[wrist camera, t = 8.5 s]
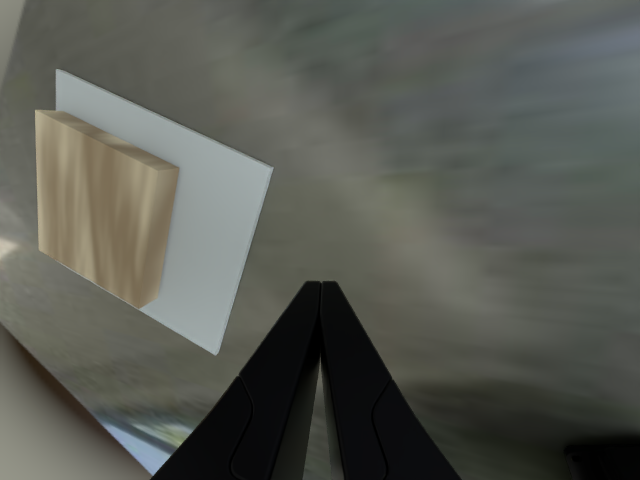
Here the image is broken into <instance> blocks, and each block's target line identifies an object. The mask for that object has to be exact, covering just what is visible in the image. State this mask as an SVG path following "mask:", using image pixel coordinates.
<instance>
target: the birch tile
mask: <svg viewBox="0 0 640 480" xmlns="http://www.w3.org/2000/svg"><path fill="white" fill-rule="evenodd" d="M35 127H36V164H37V200H38V236H39V251H41V252H43V253H45V254H46V255H48V256H50V257H51V258H53V259H55V260H56V261H58V262H60V263H61V264H63V265H65V266H67V267H68V268H70V269H72V270H73V271H75V272H77V273H78V274H80V275H82V276H83V277H85V278H87V279H89V280H90V281H92V282H94V283H95V284H97V285H99V286H100V287H102V288H104V289H105V290H107V291H109V292H111V293H112V294H114V295H116V296H117V297H119V298H121V299H122V300H124V301H126V302H127V303H129V304H131V305H132V306H134V307H136V308H138V309H140V308H142V307H143V306H145V305H147V304H148V303H150V302H152V301H153V300H155V299H157V298H158V292H159V286H160V281H161V275H162V269H163V263H164V257H165V251H166V245H167V239H168V233H169V227H170V221H171V215H172V209H173V203H174V198H175V192H176V186H177V180H178V174H179V167H177V166H175V165H173V164H171V163H169V162H167V161H165V160H163V159H161V158H159V157H156V156H154V155H152V154H150V153H148V152H146V151H144V150H142V149H140V148H138V147H136V146H134V145H132V144H130V143H128V142H126V141H124V140H122V139H120V138H118V137H116V136H113V135H111V134H109V133H107V132H105V131H103V130H101V129H99V128H97V127H95V126H93V125H91V124H89V123H87V122H85V121H83V120H81V119H79V118H77V117H75V116H73V115H70V114H68V113H66V112H64V111H51V110H35Z"/></svg>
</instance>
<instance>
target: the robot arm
mask: <svg viewBox="0 0 640 480" xmlns="http://www.w3.org/2000/svg"><path fill="white" fill-rule="evenodd" d="M320 353H321V372H322V383H323V393H324V403H325V413H326V423H327V434H328V444H329V454H330V464H331V474H332V480H462V479H461V478H460V477H459V475H458V474H457V473H456V471H455V470H454V468H453V467H452V466H451V464H450V463H449V462H448V460H447V459H446V458H445V456H444V455H443V454H442V452H441V451H440V450H439V448H438V447H437V445H436V444H435V443H434V441H433V440H432V439H431V437H430V436H429V434H428V433H427V431H426V430H425V429H424V427H423V426H422V424H421V423H420V422H419V420H418V419H417V417H416V416H415V414H414V413H413V411H412V409H411V408H410V406H409V405H408V403H407V401H406V400H405V398H404V396H403V395H402V393H401V391H400V390H399V388H398V386H397V385H396V383H395V381H394V380H392V376H391V374H390V373H389V371H388V369H387V368H386V366H385V364H384V362H383V361H382V359H381V357H380V355H379V354H378V352H377V350H376V349H375V347H374V345H373V343H372V342H371V340H370V338H369V336H368V335H367V333H366V331H365V330H364V328H363V326H362V324H361V323H360V321H359V319H358V317H357V316H356V314H355V312H354V310H353V309H352V307H351V305H350V304H349V302H348V300H347V298H346V297H345V295H344V293H343V291H342V290H341V288H340V286H339V285H338V283H337V282H336V281H323V282H322V283H321V282H320V281H306V282H305V283H304V284H303V286H302V287H301V288H300V290H299V291H298V292H297V294H296V295H295V297H294V298H293V299H292V301H291V302H290V304H289V305H288V306H287V308H286V309H285V310H284V312H283V313H282V315H281V316H280V317H279V319H278V320H277V321H276V323H275V324H274V326H273V327H272V328H271V330H270V331H269V332H268V334H267V335H266V337H265V338H264V339H263V341H262V342H261V343H260V345H259V346H258V348H257V349H256V350H255V352H254V353H253V355H252V356H251V357H250V359H249V360H248V361H247V363H246V364H245V366H244V367H243V368H242V370H241V371H240V372H239V376H237V377H236V378H235V379H234V380H233V382H232V383H231V385H230V386H229V387H228V389H227V390H226V391H225V393H224V394H223V395H222V397H221V398H220V399H219V401H218V402H217V403H216V404H215V406H214V407H213V408H212V410H211V411H210V412H209V413H208V414H207V416H206V417H205V418H204V419H203V420H202V421H201V423H200V424H199V425H198V426H197V427H196V428H195V430H194V431H193V432H192V433H191V434H190V435H189V436H188V437H187V439H186V440H185V441H184V442H183V443H182V444H181V445H180V446H179V448H178V449H177V450H176V451H175V452H174V453H173V454H172V455H171V456H170V458H169V459H168V460H167V461H166V462H165V463H164V464H163V465H162V467H161V468H160V469H159V470H158V471H157V472H156V473H155V474H154V476H153V477H152V478H151V479H150V480H302V478H303V472H304V465H305V459H306V452H307V446H308V439H309V432H310V426H311V419H312V413H313V406H314V399H315V393H316V386H317V380H318V373H319V365H320ZM564 455H565V458H566V461H567V464H568V467H569V470H570V473H571V477H572V480H640V444H624V445H584V446H568V447H566V448H565V449H564ZM575 455H577V456H575Z"/></svg>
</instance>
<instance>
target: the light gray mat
mask: <svg viewBox="0 0 640 480" xmlns="http://www.w3.org/2000/svg"><path fill="white" fill-rule="evenodd" d="M56 111H64V112H66V113H68V114H70V115H73V116H75V117H77V118H79V119H81V120H83V121H85V122H87V123H89V124H91V125H93V126H95V127H97V128H99V129H101V130H103V131H105V132H107V133H109V134H111V135H113V136H116V137H118V138H120V139H122V140H124V141H126V142H128V143H130V144H132V145H134V146H136V147H138V148H140V149H142V150H144V151H146V152H148V153H150V154H152V155H154V156H156V157H159V158H161V159H163V160H165V161H167V162H169V163H171V164H173V165H175V166H177V167H179V174H178V180H177V186H176V192H175V198H174V203H173V209H172V215H171V221H170V227H169V233H168V239H167V245H166V251H165V257H164V263H163V269H162V275H161V281H160V286H159V292H158V298H157V299H155V300H153V301H152V302H150V303H148V304H147V305H145V306H143V307H142V308H140V309H138V308H136V307H135V308H136V309H138V310H140V311H141V312H143V313H145V314H146V315H148V316H150V317H151V318H153V319H155V320H157V321H158V322H160V323H162V324H163V325H165V326H167V327H168V328H170V329H172V330H173V331H175V332H177V333H179V334H180V335H182V336H184V337H185V338H187V339H189V340H190V341H192V342H194V343H195V344H197V345H199V346H200V347H202V348H204V349H206V350H207V351H209V352H211V353H212V354H214V355H217V354H218V353H219V350H220V346H221V343H222V339H223V336H224V333H225V329H226V326H227V323H228V319H229V316H230V313H231V309H232V306H233V303H234V299H235V296H236V292H237V289H238V286H239V282H240V279H241V276H242V272H243V269H244V266H245V262H246V259H247V256H248V252H249V249H250V245H251V242H252V239H253V235H254V232H255V229H256V225H257V222H258V219H259V215H260V212H261V209H262V205H263V202H264V198H265V195H266V192H267V188H268V185H269V182H270V178H271V175H272V172H273V168H274V167H272V166H270V165H268V164H265V163H263V162H261V161H259V160H257V159H255V158H252V157H250V156H248V155H246V154H244V153H241V152H239V151H237V150H235V149H233V148H231V147H228V146H226V145H224V144H222V143H220V142H218V141H215V140H213V139H211V138H209V137H207V136H205V135H202V134H200V133H198V132H196V131H194V130H192V129H189V128H187V127H185V126H183V125H181V124H179V123H176V122H174V121H172V120H170V119H168V118H166V117H163V116H161V115H159V114H157V113H155V112H153V111H150V110H148V109H146V108H144V107H142V106H140V105H137V104H135V103H133V102H131V101H129V100H127V99H124V98H122V97H120V96H118V95H116V94H114V93H111V92H109V91H107V90H105V89H103V88H101V87H98V86H96V85H94V84H92V83H90V82H87V81H85V80H83V79H81V78H79V77H77V76H74V75H72V74H70V73H68V72H66V71H64V70H60V69H56ZM57 262H58V261H57ZM59 263H60V262H59ZM60 264H61V263H60ZM62 265H63V264H62ZM64 266H65V265H64ZM65 267H67V266H65ZM67 268H68V267H67ZM69 269H70V268H69ZM70 270H72V269H70ZM72 271H73V270H72ZM74 272H75V271H74ZM75 273H77V272H75ZM77 274H78V273H77ZM79 275H80V274H79ZM81 276H82V275H81ZM82 277H83V276H82ZM84 278H85V277H84ZM86 279H87V278H86ZM87 280H89V279H87ZM89 281H90V280H89ZM91 282H92V281H91ZM92 283H94V282H92ZM94 284H95V283H94ZM96 285H97V284H96ZM97 286H99V285H97ZM99 287H100V286H99ZM101 288H102V287H101ZM102 289H104V288H102ZM104 290H105V289H104ZM106 291H107V290H106ZM108 292H109V291H108ZM109 293H111V292H109ZM111 294H112V293H111ZM113 295H114V294H113ZM114 296H116V295H114ZM116 297H117V296H116ZM118 298H119V297H118ZM119 299H121V298H119ZM121 300H122V299H121ZM123 301H124V300H123ZM124 302H126V301H124ZM126 303H127V302H126ZM128 304H129V303H128ZM130 305H131V304H130ZM131 306H132V305H131ZM133 307H134V306H133Z"/></svg>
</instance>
